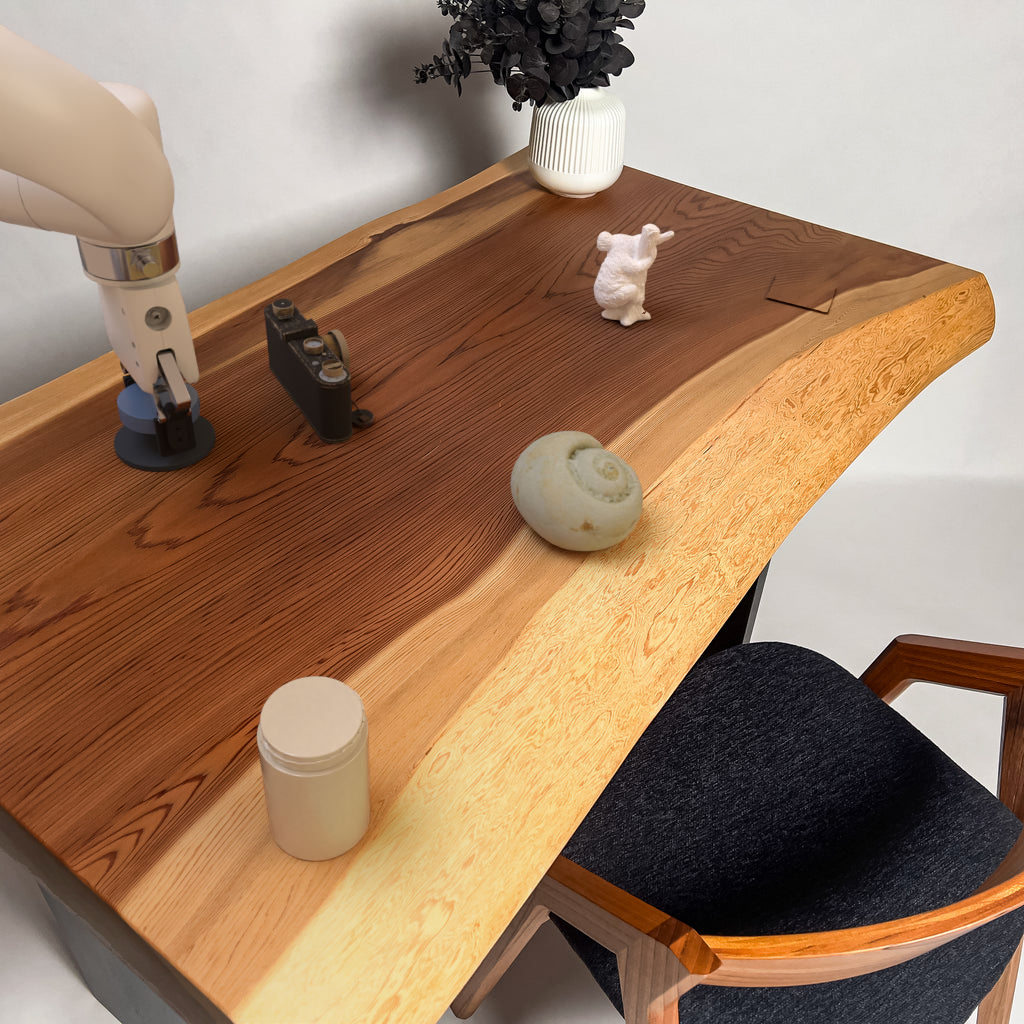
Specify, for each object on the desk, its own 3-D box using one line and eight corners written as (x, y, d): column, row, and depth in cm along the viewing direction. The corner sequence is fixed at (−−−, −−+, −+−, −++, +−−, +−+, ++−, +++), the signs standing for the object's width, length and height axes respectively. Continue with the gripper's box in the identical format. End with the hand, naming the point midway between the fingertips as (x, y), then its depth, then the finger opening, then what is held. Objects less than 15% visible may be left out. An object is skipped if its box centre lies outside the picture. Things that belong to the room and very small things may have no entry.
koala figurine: (662, 313, 117) (680, 219, 110) (649, 338, 112) (667, 242, 105) (595, 297, 119) (609, 203, 111) (580, 321, 114) (593, 225, 106)
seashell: (670, 461, 82) (597, 496, 75) (654, 539, 86) (582, 579, 79) (558, 407, 89) (482, 435, 82) (548, 482, 93) (474, 514, 86)
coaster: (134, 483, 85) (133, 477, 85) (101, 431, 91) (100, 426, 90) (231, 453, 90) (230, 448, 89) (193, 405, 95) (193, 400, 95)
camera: (385, 431, 94) (384, 361, 89) (321, 448, 91) (317, 376, 86) (319, 350, 105) (316, 283, 99) (260, 363, 102) (253, 295, 96)
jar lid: (196, 389, 92) (194, 374, 91) (205, 429, 87) (203, 414, 86) (117, 397, 89) (114, 382, 88) (122, 438, 84) (119, 423, 83)
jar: (297, 880, 58) (285, 781, 52) (252, 802, 62) (235, 700, 56) (388, 828, 62) (388, 729, 55) (341, 757, 65) (335, 656, 59)
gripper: (217, 285, 74) (239, 467, 86) (138, 202, 85) (167, 375, 96) (119, 306, 71) (156, 494, 82) (49, 217, 81) (91, 394, 92)
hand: (162, 428), depth 89 cm, fingers closed on jar lid, 7 cm apart
